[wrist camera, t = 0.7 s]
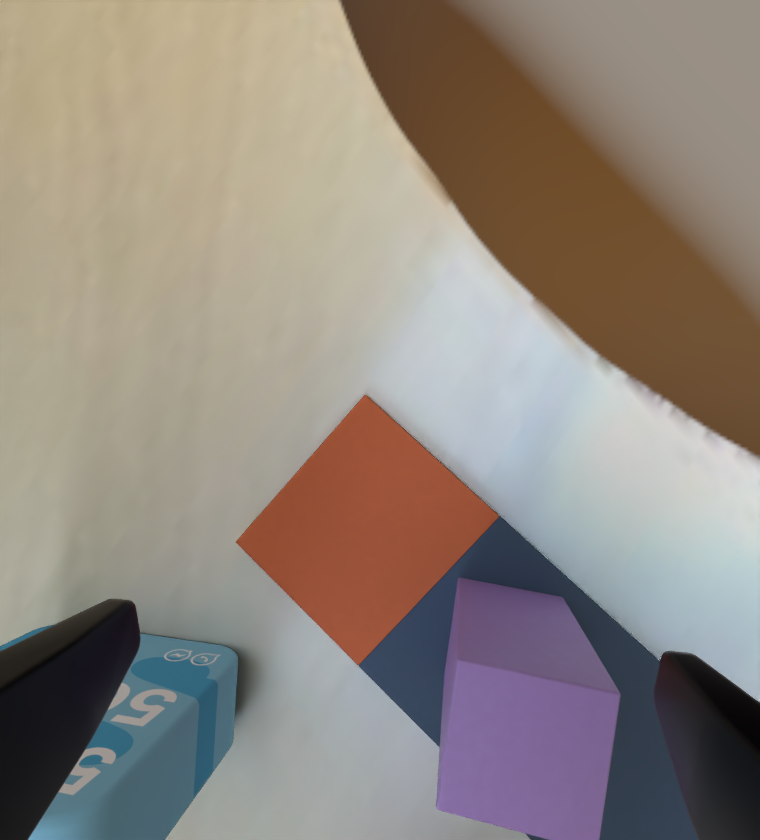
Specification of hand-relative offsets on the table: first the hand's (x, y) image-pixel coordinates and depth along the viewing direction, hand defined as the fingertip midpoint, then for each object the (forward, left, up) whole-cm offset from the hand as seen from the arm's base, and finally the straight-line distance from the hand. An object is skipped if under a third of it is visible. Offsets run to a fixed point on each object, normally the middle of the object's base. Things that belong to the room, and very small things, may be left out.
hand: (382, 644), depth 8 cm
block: (-3, -7, -16) cm, 18 cm away
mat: (-4, -7, -16) cm, 18 cm away
